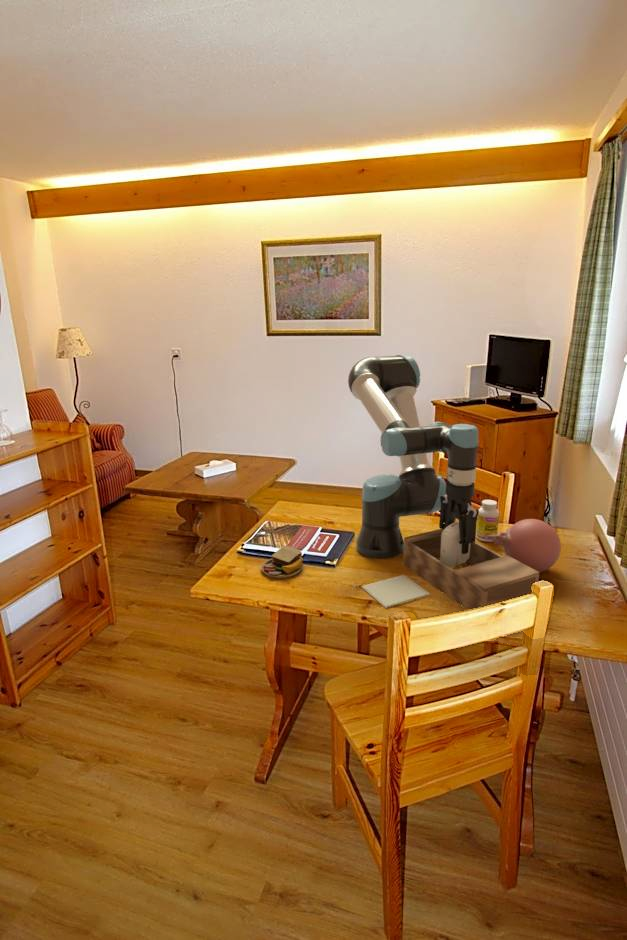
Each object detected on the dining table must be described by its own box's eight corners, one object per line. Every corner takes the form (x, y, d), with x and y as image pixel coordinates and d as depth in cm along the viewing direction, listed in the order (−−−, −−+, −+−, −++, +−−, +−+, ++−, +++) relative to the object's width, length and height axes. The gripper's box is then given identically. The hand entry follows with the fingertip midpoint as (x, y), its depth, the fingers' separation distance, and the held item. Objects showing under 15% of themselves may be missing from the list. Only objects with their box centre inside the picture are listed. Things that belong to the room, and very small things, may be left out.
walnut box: (403, 565, 168) (404, 537, 165) (451, 552, 175) (452, 526, 173) (482, 620, 139) (485, 588, 136) (535, 603, 146) (539, 572, 144)
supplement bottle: (482, 543, 181) (485, 506, 177) (472, 535, 187) (474, 499, 184) (501, 541, 183) (504, 504, 179) (490, 533, 189) (493, 497, 185)
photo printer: (449, 571, 156) (452, 530, 152) (437, 565, 159) (439, 525, 155) (471, 559, 162) (474, 520, 158) (459, 554, 165) (461, 515, 161)
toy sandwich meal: (252, 570, 167) (251, 556, 166) (285, 555, 176) (284, 541, 175) (281, 584, 159) (280, 569, 157) (314, 567, 168) (313, 553, 167)
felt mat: (361, 587, 155) (361, 585, 155) (403, 576, 161) (403, 574, 161) (385, 608, 145) (385, 606, 145) (429, 595, 151) (429, 593, 151)
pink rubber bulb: (485, 553, 174) (488, 507, 170) (554, 560, 169) (560, 513, 164) (485, 577, 160) (489, 527, 155) (561, 585, 155) (567, 534, 150)
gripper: (428, 473, 159) (424, 548, 166) (472, 494, 143) (465, 575, 150) (449, 470, 162) (445, 543, 169) (494, 489, 146) (487, 568, 154)
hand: (454, 558), depth 160 cm, fingers closed on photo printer, 5 cm apart
